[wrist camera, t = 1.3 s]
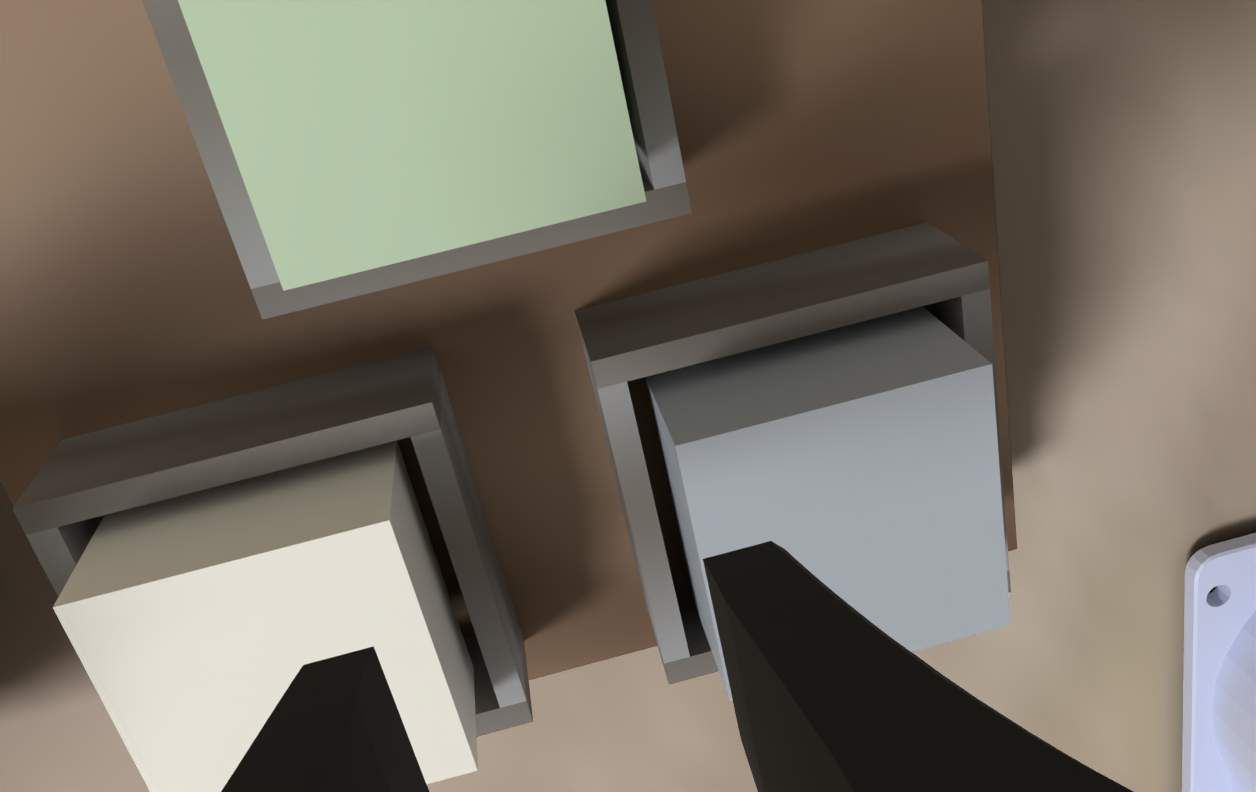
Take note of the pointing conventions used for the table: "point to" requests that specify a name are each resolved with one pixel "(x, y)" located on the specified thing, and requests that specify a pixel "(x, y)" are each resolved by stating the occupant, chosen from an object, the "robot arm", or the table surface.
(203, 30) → the green button
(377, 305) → the console
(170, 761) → the white button
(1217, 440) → the table surface
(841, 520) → the grey button
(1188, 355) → the table surface
